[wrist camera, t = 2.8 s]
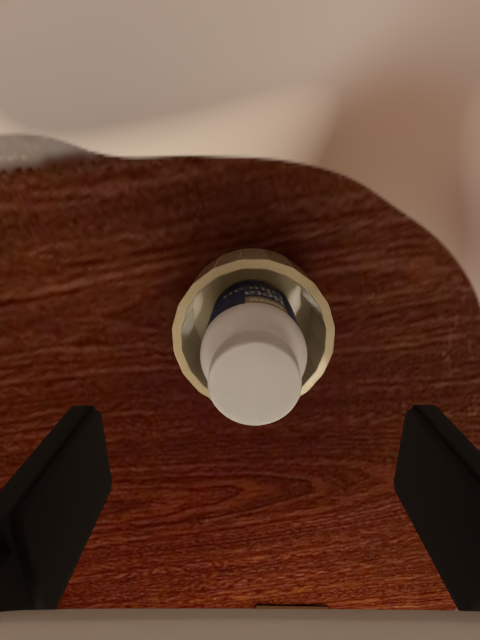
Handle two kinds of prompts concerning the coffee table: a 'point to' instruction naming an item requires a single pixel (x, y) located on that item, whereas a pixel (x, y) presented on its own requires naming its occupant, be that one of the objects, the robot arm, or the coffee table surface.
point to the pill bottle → (253, 353)
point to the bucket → (254, 265)
